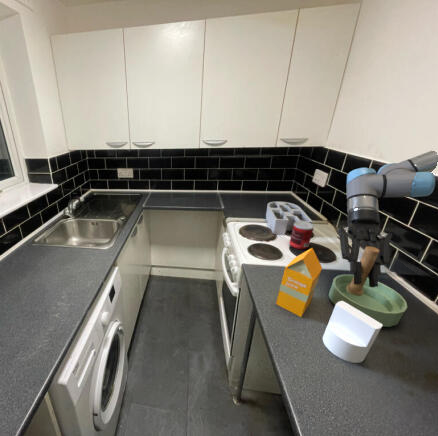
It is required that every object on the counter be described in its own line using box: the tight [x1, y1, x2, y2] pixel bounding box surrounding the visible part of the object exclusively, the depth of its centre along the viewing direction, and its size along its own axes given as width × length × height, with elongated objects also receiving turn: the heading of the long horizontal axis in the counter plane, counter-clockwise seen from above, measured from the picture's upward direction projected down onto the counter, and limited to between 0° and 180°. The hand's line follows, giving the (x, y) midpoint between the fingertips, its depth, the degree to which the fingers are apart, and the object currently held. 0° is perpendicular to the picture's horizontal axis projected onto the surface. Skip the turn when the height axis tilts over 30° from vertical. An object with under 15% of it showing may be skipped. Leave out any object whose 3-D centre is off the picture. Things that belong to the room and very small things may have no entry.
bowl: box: [328, 274, 408, 328], centre depth 73 cm, size 17×17×6 cm
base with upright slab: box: [322, 301, 384, 364], centre depth 60 cm, size 9×9×12 cm
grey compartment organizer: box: [265, 201, 314, 236], centre depth 128 cm, size 17×28×9 cm, turn 165°
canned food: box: [289, 221, 315, 250], centre depth 107 cm, size 8×8×11 cm
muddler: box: [346, 245, 380, 296], centre depth 70 cm, size 4×4×16 cm
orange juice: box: [275, 247, 323, 318], centre depth 72 cm, size 8×9×20 cm
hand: (365, 285), depth 68 cm, fingers closed on muddler, 3 cm apart
